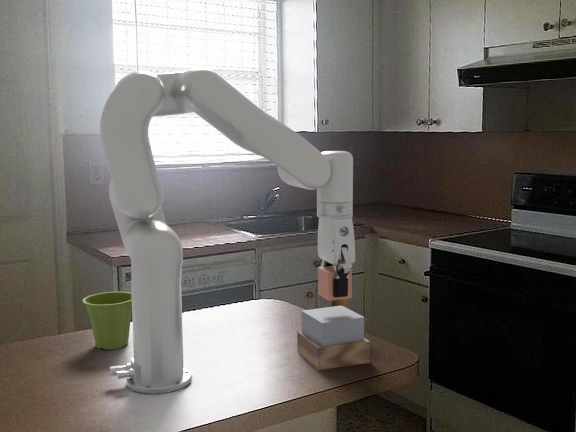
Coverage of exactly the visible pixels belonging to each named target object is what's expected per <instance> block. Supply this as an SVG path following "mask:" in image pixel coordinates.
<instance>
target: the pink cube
mask: <svg viewBox="0 0 576 432" xmlns="http://www.w3.org/2000/svg"><path fill="white" fill-rule="evenodd" d="M340 268H342V267H338V271H339V270H340ZM352 271H353V270H352V269H350V272H349V278H348V296H346V297H336V298H335V297H333V279H334V278H335V275H334V267H333V266H329V267H321V266H319V267H317V295H318V296H320V297H322V298H323V299H324V300H327V301H332V300H339V299H348V300H349V299H352V298H353V290H352V289H353V285H352V284H353V272H352Z"/></svg>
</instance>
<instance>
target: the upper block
mask: <svg viewBox="0 0 576 432" xmlns="http://www.w3.org/2000/svg"><path fill="white" fill-rule="evenodd" d="M301 331H302V333H303V334H304V335H306V336H307V337H309V338H310V339H312V340H313V341H315V342H316V343H318V344H319V345H321V346H328V345H335V344H341V343H347V342H354V341H360V340H364V338H365V316H363V315H361V314H359V313H358V312H355V311H353V310H351V309H349V307H348V308H346V307H344V306H342V305H341V306H334V307H332V306H329V307H328V306H326V307H319V308H312V309H305V310H301Z"/></svg>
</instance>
